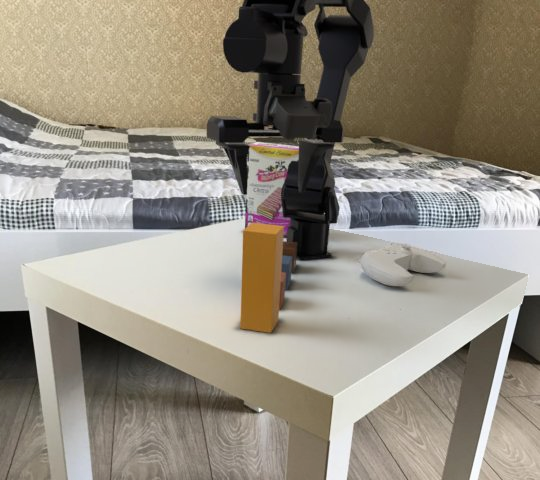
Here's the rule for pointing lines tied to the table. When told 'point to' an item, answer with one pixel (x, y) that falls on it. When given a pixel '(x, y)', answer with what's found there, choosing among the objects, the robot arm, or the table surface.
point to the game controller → (399, 263)
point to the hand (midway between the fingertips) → (273, 193)
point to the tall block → (261, 276)
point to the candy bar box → (267, 182)
